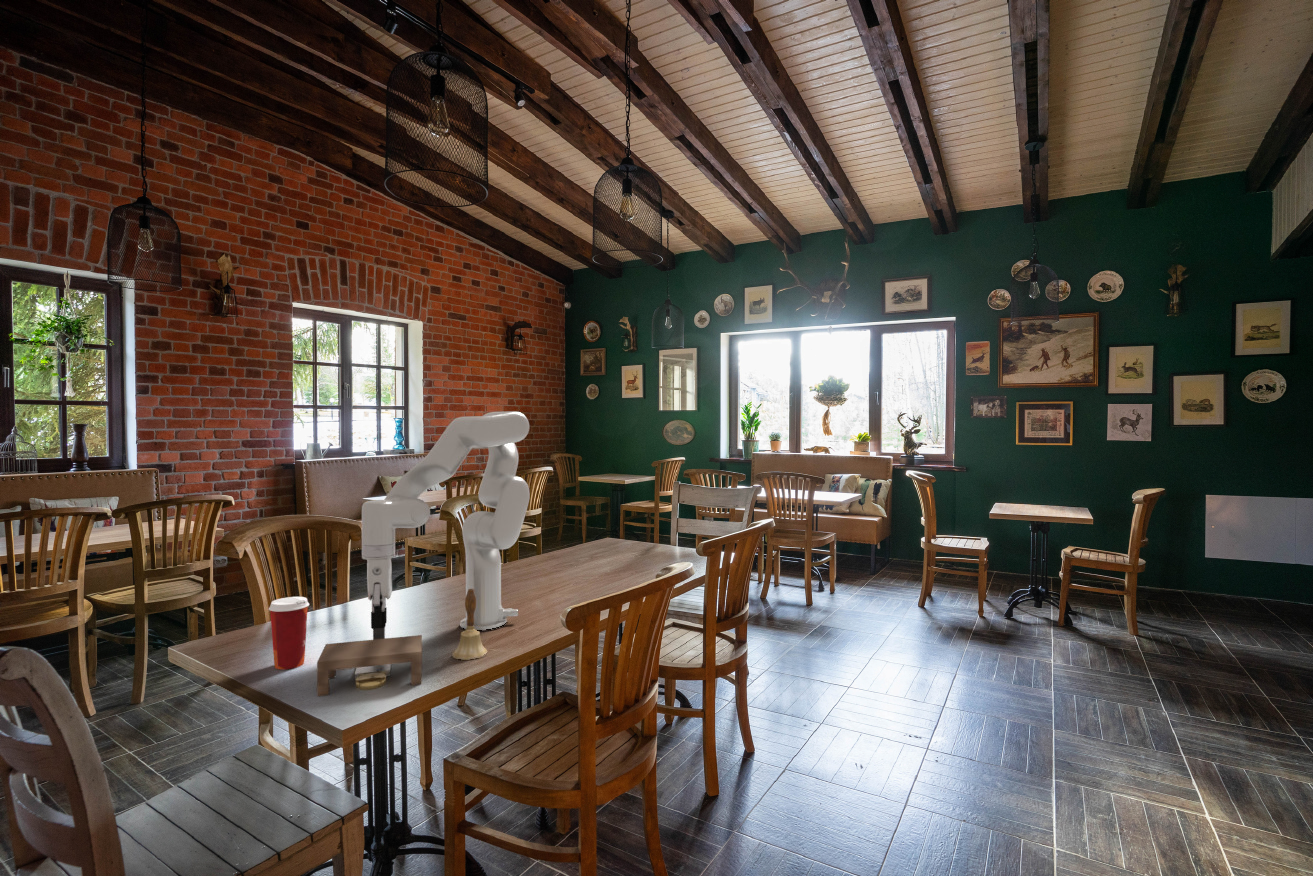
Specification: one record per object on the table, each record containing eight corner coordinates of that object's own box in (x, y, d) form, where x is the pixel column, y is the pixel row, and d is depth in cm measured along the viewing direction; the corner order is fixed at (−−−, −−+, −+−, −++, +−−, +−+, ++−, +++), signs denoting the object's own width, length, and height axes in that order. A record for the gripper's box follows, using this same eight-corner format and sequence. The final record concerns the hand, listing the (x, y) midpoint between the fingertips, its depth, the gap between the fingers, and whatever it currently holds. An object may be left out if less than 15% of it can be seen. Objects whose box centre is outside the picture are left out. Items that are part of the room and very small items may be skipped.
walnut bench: (421, 665, 152) (421, 635, 152) (421, 684, 140) (421, 651, 140) (326, 675, 145) (325, 644, 145) (317, 696, 134) (317, 662, 134)
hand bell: (493, 650, 162) (493, 586, 162) (477, 661, 154) (477, 594, 154) (463, 647, 164) (463, 584, 164) (445, 659, 156) (445, 592, 156)
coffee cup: (317, 661, 154) (317, 597, 154) (287, 673, 146) (287, 606, 146) (290, 657, 157) (290, 594, 157) (259, 669, 149) (259, 603, 149)
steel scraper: (394, 648, 162) (394, 587, 162) (389, 675, 144) (389, 606, 144) (364, 651, 160) (364, 589, 160) (354, 679, 142) (354, 609, 142)
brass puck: (385, 677, 144) (385, 671, 144) (386, 687, 139) (386, 680, 139) (355, 682, 142) (355, 675, 142) (355, 692, 136) (355, 685, 136)
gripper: (393, 556, 153) (393, 634, 154) (397, 544, 169) (397, 615, 169) (358, 558, 151) (358, 637, 151) (365, 546, 166) (365, 618, 167)
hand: (378, 625), depth 160 cm, fingers closed on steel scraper, 2 cm apart
